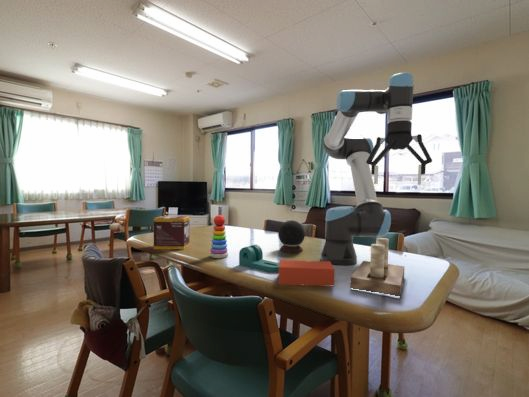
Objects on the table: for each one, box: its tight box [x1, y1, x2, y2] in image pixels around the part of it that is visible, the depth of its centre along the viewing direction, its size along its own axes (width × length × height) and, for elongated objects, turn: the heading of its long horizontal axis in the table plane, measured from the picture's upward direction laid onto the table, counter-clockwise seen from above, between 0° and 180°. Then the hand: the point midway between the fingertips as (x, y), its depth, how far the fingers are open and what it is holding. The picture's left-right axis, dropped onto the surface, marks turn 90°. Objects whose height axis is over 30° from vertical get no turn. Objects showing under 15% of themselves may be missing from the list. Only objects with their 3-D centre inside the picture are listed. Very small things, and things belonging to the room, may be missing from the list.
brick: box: [278, 259, 336, 286], centre depth 95 cm, size 18×9×6 cm, turn 86°
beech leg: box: [369, 243, 385, 280], centre depth 87 cm, size 4×4×14 cm
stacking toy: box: [210, 214, 229, 259], centre depth 125 cm, size 8×8×19 cm
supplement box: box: [153, 215, 191, 250], centre depth 142 cm, size 10×15×16 cm
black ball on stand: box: [277, 220, 306, 254], centre depth 138 cm, size 13×13×15 cm
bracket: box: [238, 244, 279, 274], centre depth 109 cm, size 18×7×8 cm, turn 53°
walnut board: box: [349, 237, 405, 297], centre depth 93 cm, size 14×22×14 cm, turn 151°
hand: (396, 184), depth 96 cm, fingers open, 13 cm apart
